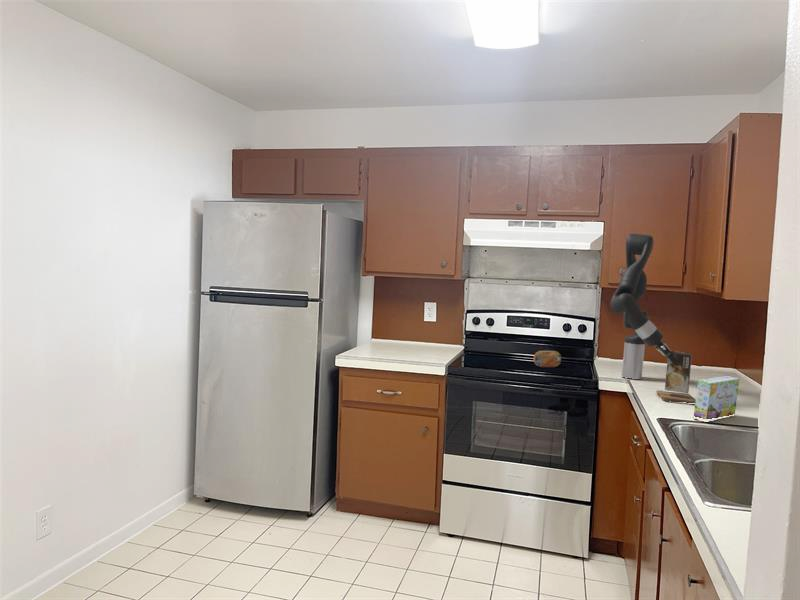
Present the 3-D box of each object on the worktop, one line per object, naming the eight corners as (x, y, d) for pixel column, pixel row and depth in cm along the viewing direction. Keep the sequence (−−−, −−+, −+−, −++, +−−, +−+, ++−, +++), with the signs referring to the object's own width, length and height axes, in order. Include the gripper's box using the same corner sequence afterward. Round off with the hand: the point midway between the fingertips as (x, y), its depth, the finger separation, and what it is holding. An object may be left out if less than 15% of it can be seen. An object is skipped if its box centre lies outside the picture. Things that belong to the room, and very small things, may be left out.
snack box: (707, 423, 215) (712, 382, 214) (692, 419, 220) (696, 379, 218) (736, 416, 228) (740, 377, 226) (721, 413, 232) (725, 374, 231)
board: (656, 393, 259) (656, 390, 259) (688, 397, 256) (688, 393, 256) (663, 401, 245) (663, 398, 245) (697, 405, 243) (697, 401, 243)
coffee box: (688, 390, 251) (692, 353, 249) (688, 393, 245) (692, 355, 244) (665, 387, 255) (668, 350, 253) (663, 390, 250) (667, 352, 248)
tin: (534, 367, 306) (536, 351, 305) (531, 366, 309) (533, 349, 308) (561, 367, 310) (562, 351, 309) (558, 366, 313) (559, 350, 312)
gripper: (659, 329, 243) (687, 360, 242) (652, 325, 257) (678, 354, 256) (644, 340, 245) (672, 371, 244) (638, 336, 259) (664, 365, 258)
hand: (675, 362), depth 250 cm, fingers closed on coffee box, 7 cm apart
